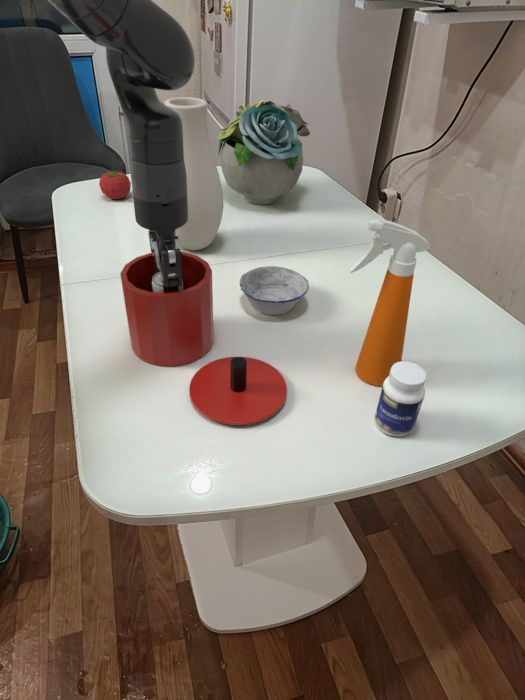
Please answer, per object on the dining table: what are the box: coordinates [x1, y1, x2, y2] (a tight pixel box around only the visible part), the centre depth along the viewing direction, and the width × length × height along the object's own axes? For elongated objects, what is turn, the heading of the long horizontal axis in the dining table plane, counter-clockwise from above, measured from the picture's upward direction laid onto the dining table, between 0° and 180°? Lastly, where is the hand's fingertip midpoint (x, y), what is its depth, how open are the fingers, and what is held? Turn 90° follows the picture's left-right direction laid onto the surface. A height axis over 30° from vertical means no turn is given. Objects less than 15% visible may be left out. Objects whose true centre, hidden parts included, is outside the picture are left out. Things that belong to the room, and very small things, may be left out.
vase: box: [164, 96, 224, 251], centre depth 106 cm, size 14×14×30 cm
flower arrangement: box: [216, 99, 311, 206], centre depth 131 cm, size 25×25×24 cm
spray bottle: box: [349, 218, 432, 387], centre depth 75 cm, size 7×11×26 cm, turn 94°
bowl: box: [239, 265, 310, 316], centre depth 96 cm, size 13×13×5 cm
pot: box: [120, 251, 215, 368], centre depth 83 cm, size 14×14×14 cm
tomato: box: [98, 168, 132, 200], centre depth 133 cm, size 8×8×8 cm
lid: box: [188, 356, 288, 426], centre depth 76 cm, size 15×15×6 cm
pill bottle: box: [374, 360, 427, 437], centre depth 71 cm, size 6×6×10 cm
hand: (167, 291), depth 81 cm, fingers open, 7 cm apart
